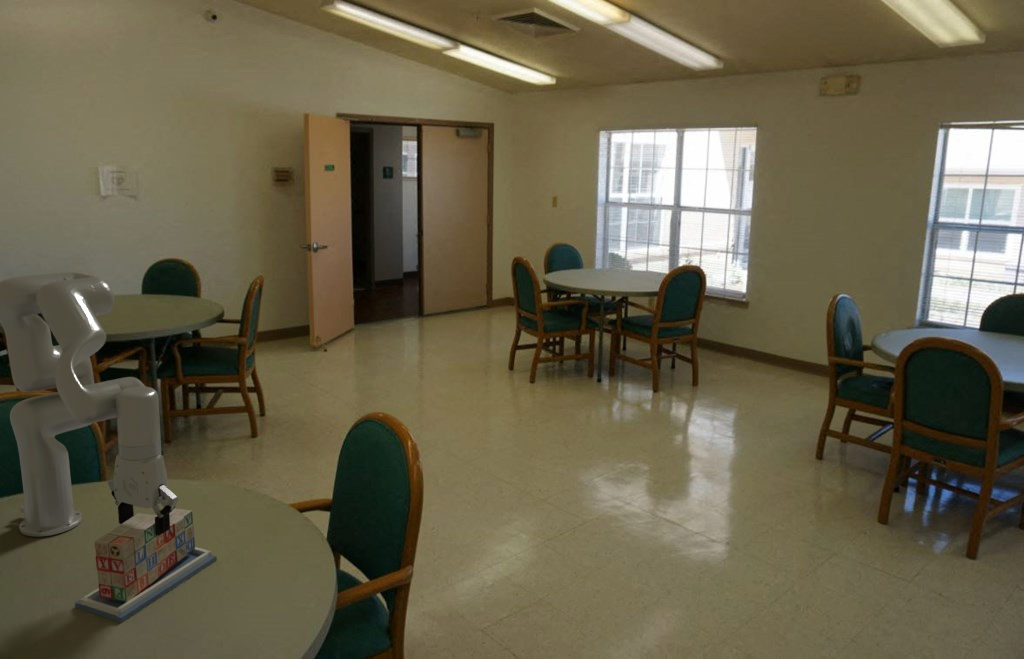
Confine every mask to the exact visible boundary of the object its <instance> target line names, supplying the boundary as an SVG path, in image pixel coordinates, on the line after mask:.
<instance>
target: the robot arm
mask: <svg viewBox="0 0 1024 659" xmlns="http://www.w3.org/2000/svg"><path fill="white" fill-rule="evenodd" d="M114 295H115V294H114V293H113V290H112V288H111V287H110V285H109V284H108V283H107V282H106V281H105V280H103V279H102V278H100V277H98V276H95V275H89V274H85V273H81V272H74V271H72V272H71V271H70V272H57V273H46V274H32V275H23V276H15V277H10V278H6V279H3V280H0V324H1V327H2V330H3V331H4V332H3V333H4V335H5V339H6V345H7V346H6V347H7V352H8V360H9V366H10V372H11V373H10V374H11V377H12V381H13V384H14V386H15V388H16V389H18V391H20V392H25V393H31V392H32V393H33V392H39V391H45V390H46V391H47V390H50V389H54V388H56V389H57V391H56V392H53V393H46V394H42V395H37V396H32V397H30V398H29V397H28V398H26V399H24V400H21V401H19V402H17V403H16V404H15V405H13V406H12V408H11V410H10V414H9V421H10V424H11V426H12V427H11V428H12V430H13V434H14V436H15V440H16V443H17V449H18V455H19V465H20V471H21V480H22V490H23V498H24V499H23V500H24V503H23V505H20V506H19V507H18V512H20V513H24V514H23V515H24V519H23V520H22V521H21V522H20V523H19V527H18V528H19V532H20V534H22V535H24V536H27V537H35V538H36V537H37V538H38V537H40V538H42V537H49V536H54V535H58V534H61V533H65V532H67V531H69V530H72V529H74V528H75V527H77V526H78V525H79V524H80V523H81V522H82V520H83V515H82V512H81V511H79V510H77V509H75V508H74V501H73V499H74V498H73V490H72V479H71V468H70V458H69V452H68V450H67V448H66V446H65V445H64V444H63V443H61V442H60V441H58V440H57V439H56V437H55V436H57V435H59V434H63V433H67V432H71V431H73V430H77V429H78V430H79V429H81V428H85V427H87V426H90V425H92V424H95V423H99V422H103V421H107V420H111V419H114V418H116V422H117V423H116V426H117V445H118V453H117V454H116V458H115V461H114V472H113V478H112V479H111V480H109V481H107V484H108V486H109V489H110V491H111V496H112V497H113V499H114V500H115V501H114V503H115V505H116V506H117V514H118V524H119V525H121V524H122V523H124V522H125V521H127V520H129V519H130V518H132V517H133V516H135V515H134V514H135V513H134V506H135V507H139V508H141V509H148V510H149V509H152V510H153V512H154V513H155V515H157V517H155V533H156V535H158V536H159V535H161V534H163V533H164V532H166V531H168V530H169V529H170V515H169V513H171V512H172V510H173V509H174V508H176V505H177V503H178V501H179V497H178V496H177V495H176V494H175V493H174V492H172V491H171V489H169V483H168V481H169V480H168V475H167V468H166V464H165V460H164V456H163V455H162V444H161V443H162V441H161V440H162V439H161V422H160V420H161V419H160V418H161V417H160V399H159V394H158V391H157V390H155V388H153V387H149V386H146V385H145V384H144V383H143V382H142V381H141V380H140V379H138V378H137V377H135V376H127V377H126V376H125V377H120V378H116V379H111V380H110V379H109V380H106V381H101V382H100V381H99V382H97V383H95V378H94V370H93V364H92V361H91V360H92V359H91V358H90V357H91V356H93V355H94V354H95V353H97V352H99V350H100V349H101V348H102V347H103V346H104V345H105V344H106V341H107V334H106V332H105V329H104V328H103V327H102V325H101V324H100V322H99V320H98V318H97V317H98V316H104V315H108V314H109V313H110V312H112V310H113V309H114V307H115V296H114ZM38 314H41V315H42V317H43V318H42V317H41V316H39V315H38ZM51 332H52V333H51ZM52 335H53V337H54V338H55V340H56V342H57V343H58V345H53V340H52ZM159 505H161V506H162V507H163V508H162V509H161V508H160V506H159Z"/></svg>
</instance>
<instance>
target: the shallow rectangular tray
mask: <svg viewBox="0 0 1024 659" xmlns="http://www.w3.org/2000/svg"><path fill="white" fill-rule="evenodd" d="M216 561H217V556H216V555H213V554H212V550H207V549H204V548H200V547H196V546H195V549H194V550H193V551H191V552H190V553H189V554H188V555H186V556H185V557H184V558H182V559H181V560H180V561H179V562H177V563H176V564H174V565H173V566H172V567H171V568H169V569H168V570H167V571H166V572H164V573H163V574H162V575H161V576H159V577H158V578H157V579H156V580H155V581H154V582H152V583H151V584H150V585H148V586H147V587H146V588H145V589H143V590H142V591H141V592H140V593H138V594H137V595H135V596H134V597H133V598H131V599H130V600H129V601H128V602H123V601H118V600H114V599H113V600H111V599H106V598H101V597H100V594H99V587H98V588H96V589H95V590H93V591H91V592H90V593H88V594H86V595H84V596H82V597H81V598H79V600H77V601H75V602H74V607H75V608H76V609H79V610H82V611H85V612H88V613H91V614H94V615H97V616H100V617H104V618H106V619H109V620H112V621H114V622H118V623H124V622H125V621H126V620H128V619H129V618H130V619H131V617H132V616H134V615H136V614H138V612H140V611H142V610H144V609H145V608H147V607H148V606H149V605H151V604H152V603H154V602H155V601H157V600H159V599H160V598H161V597H163V596H165V595H166V594H167V593H169V592H170V591H172V590H174V589H175V588H176V587H178V586H180V585H181V584H182V583H184V582H186V581H187V580H189V579H190V578H192V577H194V576H196V574H198V573H200V572H201V571H203V570H204V569H206V568H207V567H208V566H210V565H212V564H213V563H215V562H216Z"/></svg>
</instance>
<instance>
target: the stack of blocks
mask: <svg viewBox="0 0 1024 659" xmlns="http://www.w3.org/2000/svg"><path fill="white" fill-rule="evenodd" d="M169 515H170V529H169V530H168V531H166V532H164V533H163V534H161V535H159V536H158V535H156V533H155V517H157V515H156V514H147V513H141V512H137V513H136V514H135V515H134V516H133V517H132V518H130V519H129V520H127V521H125V522H124V523H122V524H119V525H118V526H115V528H113V529H111V530H110V531H109V532H107V533H105V534H103V535H102V536H100V537H99V538H97V539H96V540H94V547H95V548H94V549H95V564H96V565H95V566H96V570H97V579H98V588H99V594H100V597H101V598H106V599H111V600H113V599H114V600H118V601H123V602H128V601H129V600H130V599H131V598H133V597H134V596H135V595H137V594H138V593H140V592H141V591H142V590H143V589H145V588H146V587H147V586H148V585H150V584H151V583H152V582H154V581H155V580H156V579H157V578H158V577H159V576H161V575H162V574H163V573H164V572H166V571H167V570H168V569H169V568H171V567H172V566H173V565H174V564H176V563H177V562H179V561H180V560H181V559H182V558H184V557H185V556H186V555H188V554H189V553H190V552H191V551H193V550H194V549H195V547H196V542H195V541H196V540H195V525H194V515H193V510H190V509H189V510H188V509H182V508H176V507H175V508H174V509H173V510H172V512H171V513H169Z"/></svg>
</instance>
